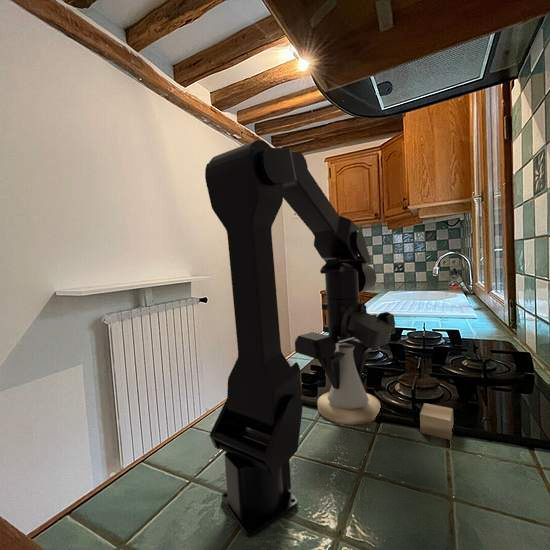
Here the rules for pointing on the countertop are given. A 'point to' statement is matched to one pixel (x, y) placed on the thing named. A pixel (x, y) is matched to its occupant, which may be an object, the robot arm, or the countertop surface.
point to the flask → (348, 383)
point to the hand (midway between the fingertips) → (346, 384)
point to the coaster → (349, 411)
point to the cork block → (436, 421)
